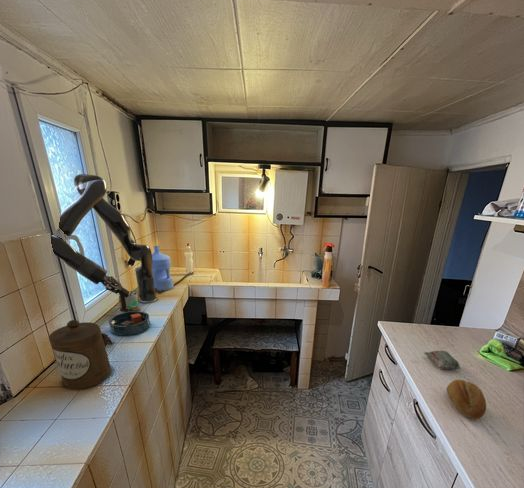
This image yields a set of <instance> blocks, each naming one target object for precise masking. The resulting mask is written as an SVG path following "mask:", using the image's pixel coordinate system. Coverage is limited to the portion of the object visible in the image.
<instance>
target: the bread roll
mask: <svg viewBox="0 0 524 488" xmlns="http://www.w3.org/2000/svg"><path fill="white" fill-rule="evenodd" d="M446 393H447V395H448V398H449V399H450V401H451V403H452V405H454V407H455V409H456V410H458V412H460V413H461V414H462V415H463V416H465V417H467V418H469V419H472V420H478V419H481V418H482V417H483V416H484V415H485V414H486V410H487V401H486V397H485V395H484V393H483V391H482V390H481V389H480V387H479V386H478V385H477V384H475V383H472V382H470V381H467V380H463V379H454V380H452V381H451V382H450V383H449V384H448V385H447V386H446Z"/></svg>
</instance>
